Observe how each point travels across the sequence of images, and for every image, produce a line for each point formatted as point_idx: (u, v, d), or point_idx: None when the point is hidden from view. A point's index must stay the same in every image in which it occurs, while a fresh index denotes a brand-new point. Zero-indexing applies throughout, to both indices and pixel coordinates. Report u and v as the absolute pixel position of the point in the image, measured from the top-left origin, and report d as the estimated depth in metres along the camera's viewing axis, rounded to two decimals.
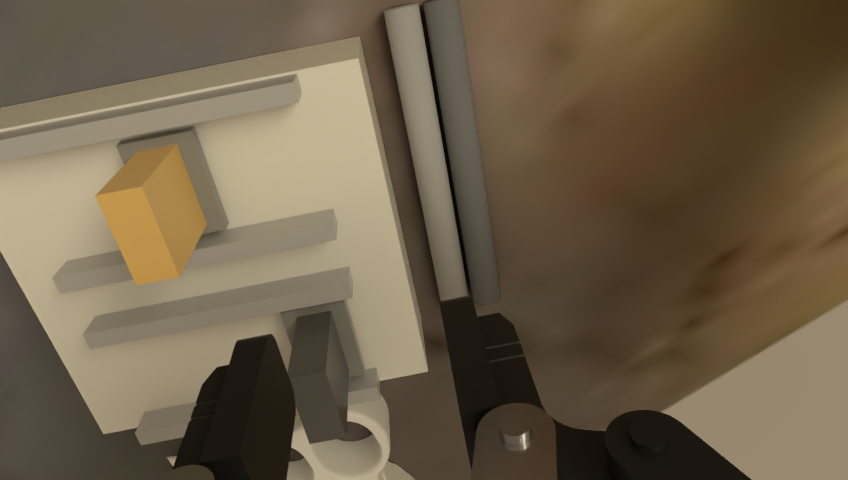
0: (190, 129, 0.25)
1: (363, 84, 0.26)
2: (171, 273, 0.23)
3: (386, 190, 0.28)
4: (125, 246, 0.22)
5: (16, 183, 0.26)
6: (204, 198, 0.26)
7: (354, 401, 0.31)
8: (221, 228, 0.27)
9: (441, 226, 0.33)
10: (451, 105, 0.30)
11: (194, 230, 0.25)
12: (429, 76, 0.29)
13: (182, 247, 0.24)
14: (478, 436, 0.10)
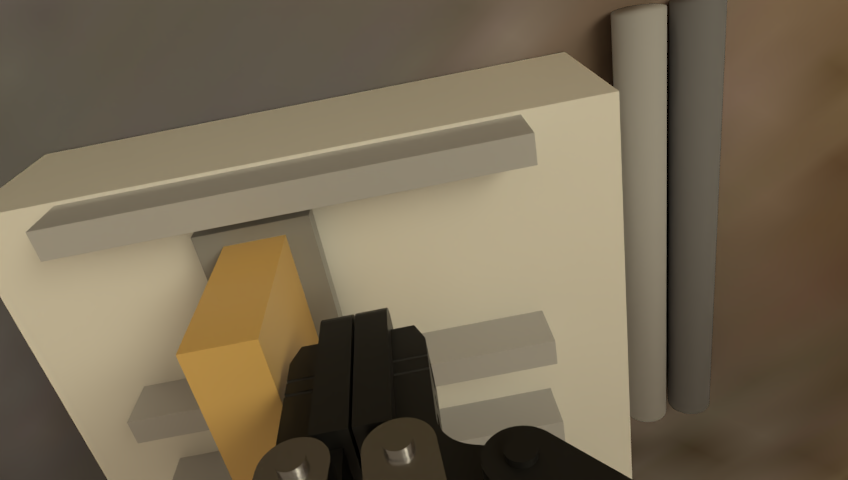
0: (307, 212, 0.16)
1: (618, 130, 0.16)
2: None
3: (623, 284, 0.18)
4: (222, 429, 0.13)
5: (73, 280, 0.17)
6: (320, 312, 0.17)
7: None
8: None
9: (651, 315, 0.23)
10: (696, 151, 0.20)
11: None
12: (666, 110, 0.20)
13: None
14: (363, 451, 0.10)
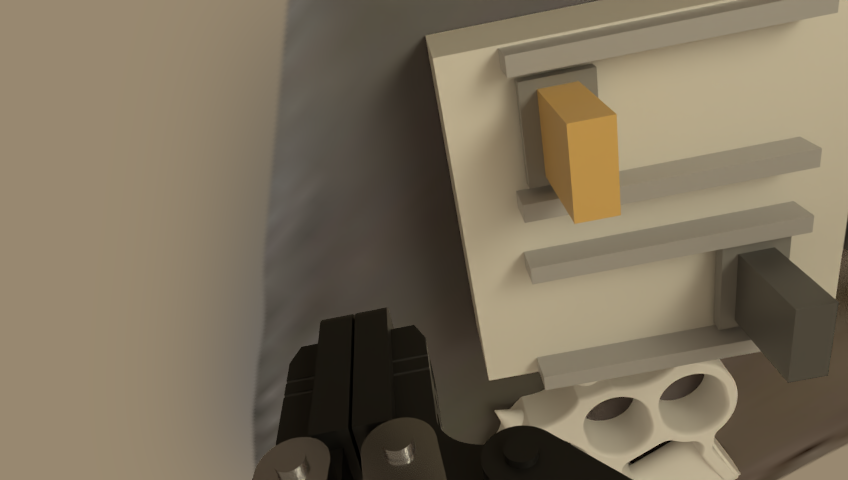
0: (593, 65, 0.24)
1: None
2: (613, 211, 0.22)
3: None
4: (578, 180, 0.21)
5: (494, 105, 0.25)
6: None
7: None
8: None
9: None
10: None
11: None
12: None
13: None
14: (363, 451, 0.10)
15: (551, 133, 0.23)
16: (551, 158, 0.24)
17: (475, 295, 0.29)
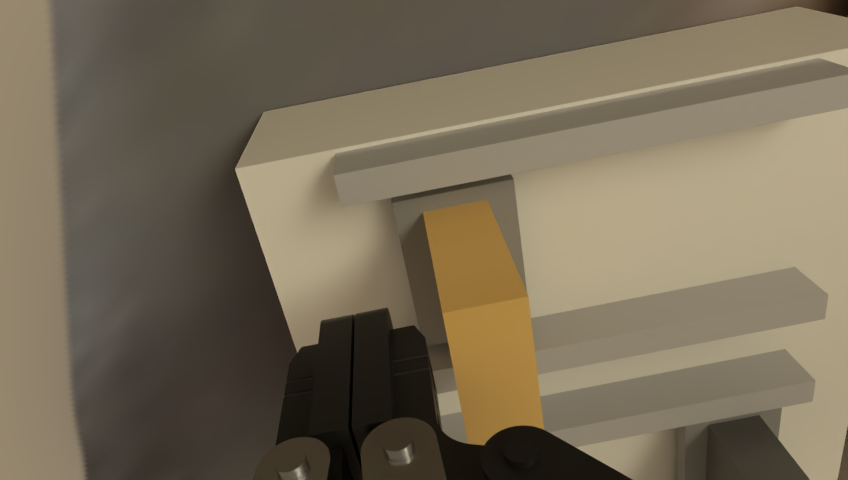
0: (509, 176, 0.15)
1: None
2: None
3: None
4: (471, 393, 0.13)
5: (339, 233, 0.17)
6: None
7: None
8: None
9: None
10: None
11: None
12: None
13: None
14: (362, 451, 0.10)
15: None
16: None
17: None
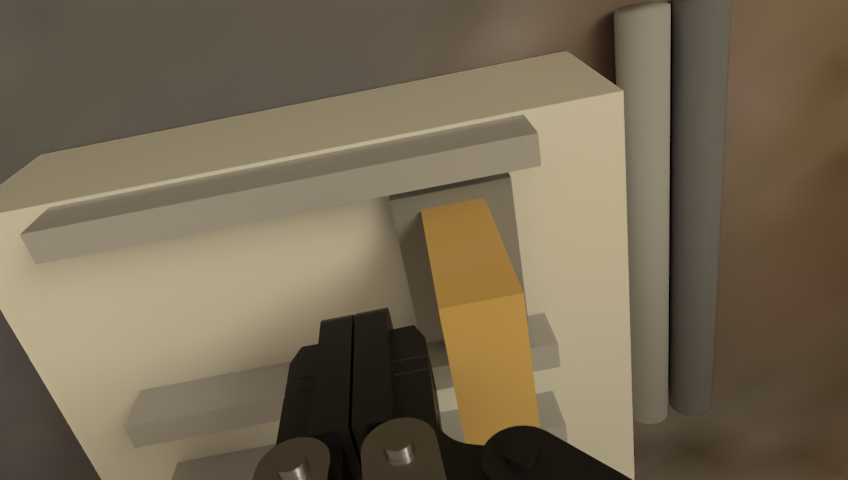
0: (506, 174, 0.16)
1: (622, 131, 0.16)
2: None
3: (627, 286, 0.18)
4: (466, 388, 0.13)
5: (69, 283, 0.17)
6: None
7: None
8: None
9: (653, 316, 0.23)
10: (699, 151, 0.20)
11: None
12: (669, 110, 0.20)
13: None
14: (363, 450, 0.10)
15: None
16: None
17: None
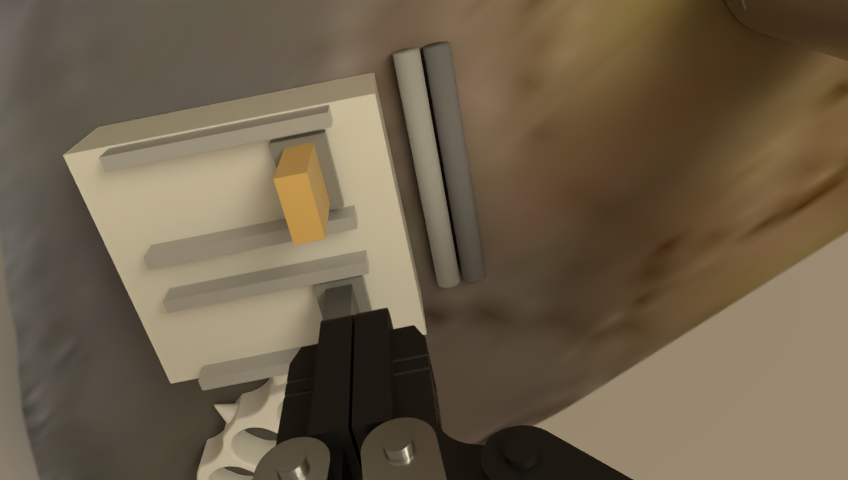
0: (323, 131, 0.34)
1: (378, 112, 0.34)
2: (319, 236, 0.31)
3: (395, 191, 0.36)
4: (290, 215, 0.31)
5: (117, 186, 0.35)
6: (329, 183, 0.35)
7: None
8: (340, 206, 0.36)
9: (437, 219, 0.41)
10: (445, 125, 0.38)
11: (326, 206, 0.34)
12: (427, 103, 0.38)
13: (323, 218, 0.32)
14: (363, 451, 0.10)
15: None
16: None
17: (141, 320, 0.39)
